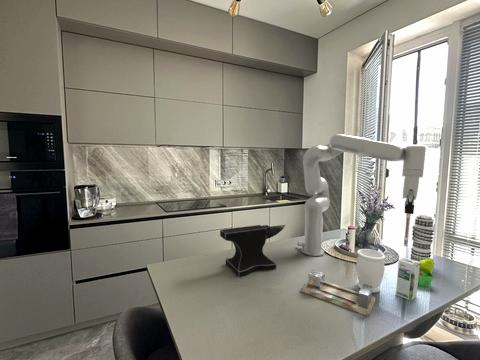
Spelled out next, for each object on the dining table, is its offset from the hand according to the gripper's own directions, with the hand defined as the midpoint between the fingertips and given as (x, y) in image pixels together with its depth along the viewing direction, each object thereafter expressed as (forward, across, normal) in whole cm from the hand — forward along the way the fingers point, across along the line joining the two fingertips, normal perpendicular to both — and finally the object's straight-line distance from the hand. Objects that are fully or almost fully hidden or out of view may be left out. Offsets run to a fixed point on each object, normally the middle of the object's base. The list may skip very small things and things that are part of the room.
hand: (408, 211), depth 112 cm
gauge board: (+31, +34, -21) cm, 51 cm away
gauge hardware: (+30, +34, -21) cm, 50 cm away
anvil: (+31, +30, -60) cm, 75 cm away
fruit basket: (+31, 0, +7) cm, 32 cm away
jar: (+31, +20, -12) cm, 39 cm away
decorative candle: (+31, -24, +7) cm, 40 cm away
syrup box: (+31, +18, +2) cm, 36 cm away
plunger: (+30, +35, -30) cm, 55 cm away
